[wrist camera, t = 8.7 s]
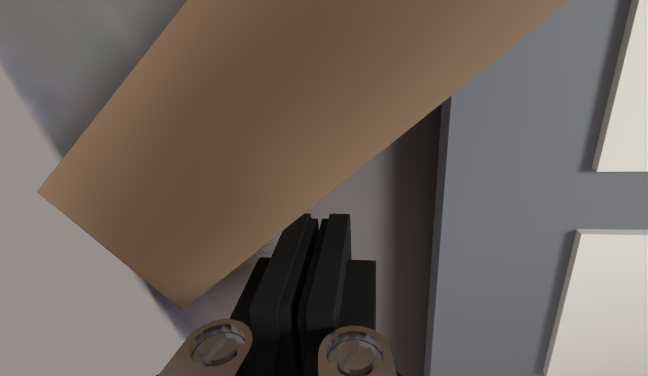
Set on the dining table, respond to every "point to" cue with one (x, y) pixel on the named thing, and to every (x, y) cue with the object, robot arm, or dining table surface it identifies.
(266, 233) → the swing bar
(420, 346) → the dining table surface
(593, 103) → the label board
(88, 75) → the dining table surface
